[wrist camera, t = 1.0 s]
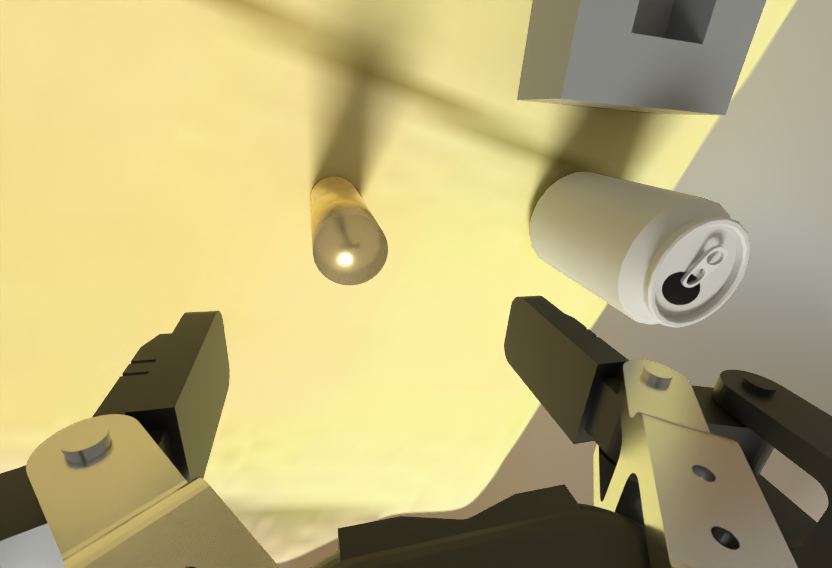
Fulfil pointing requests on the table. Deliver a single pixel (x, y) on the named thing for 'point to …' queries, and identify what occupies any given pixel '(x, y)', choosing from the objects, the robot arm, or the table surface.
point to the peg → (345, 233)
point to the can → (641, 246)
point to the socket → (638, 53)
